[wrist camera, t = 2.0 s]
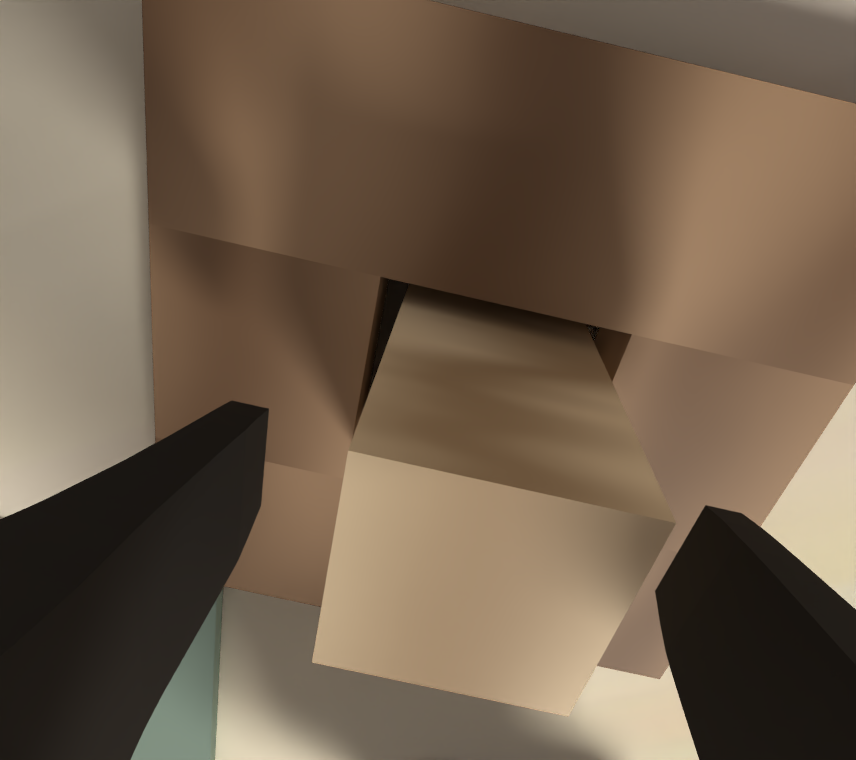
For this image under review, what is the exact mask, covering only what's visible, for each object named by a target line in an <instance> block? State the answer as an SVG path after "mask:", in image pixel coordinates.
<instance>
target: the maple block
mask: <svg viewBox="0 0 856 760" xmlns="http://www.w3.org/2000/svg"><path fill="white" fill-rule="evenodd" d="M675 525H676V521H675V519H674V517H673V515H672V512H671V510H670V508H669V506H668V504H667V501H666V499H665V497H664V495H663V493H662V490H661V488H660V486H659V484H658V482H657V479H656V477H655V475H654V473H653V471H652V468H651V466H650V464H649V462H648V460H647V457H646V455H645V453H644V451H643V449H642V447H641V444H640V442H639V440H638V438H637V436H636V433H635V431H634V429H633V427H632V425H631V422H630V420H629V418H628V416H627V414H626V411H625V409H624V407H623V405H622V403H621V400H620V398H619V396H618V394H617V392H616V389H615V387H614V385H613V383H612V381H611V378H610V376H609V374H608V372H607V370H606V368H605V365H604V363H603V361H602V359H601V357H600V354H599V352H598V350H597V348H596V346H595V343H594V341H593V339H592V337H591V335H590V332H589V330H588V328H587V326H586V324H584V323H580V322H576V321H571V320H567V319H563V318H558V317H554V316H549V315H545V314H541V313H536V312H532V311H528V310H523V309H519V308H515V307H510V306H506V305H501V304H497V303H493V302H488V301H484V300H480V299H475V298H471V297H467V296H462V295H458V294H453V293H449V292H445V291H440V290H436V289H432V288H427V287H423V286H418V285H414V284H410V283H409V286H408V288H407V291H406V294H405V297H404V299H403V302H402V305H401V308H400V310H399V313H398V316H397V318H396V321H395V324H394V327H393V329H392V332H391V335H390V338H389V340H388V343H387V346H386V348H385V351H384V354H383V357H382V359H381V362H380V365H379V368H378V370H377V373H376V376H375V379H374V381H373V384H372V387H371V389H370V392H369V395H368V398H367V400H366V403H365V406H364V409H363V411H362V414H361V417H360V420H359V422H358V425H357V428H356V430H355V433H354V436H353V439H352V441H351V444H350V447H349V450H348V454H347V460H346V466H345V472H344V478H343V483H342V489H341V495H340V501H339V507H338V513H337V518H336V524H335V530H334V536H333V542H332V548H331V553H330V559H329V565H328V571H327V577H326V583H325V588H324V594H323V600H322V606H321V612H320V618H319V623H318V629H317V635H316V641H315V647H314V653H313V658H312V663H317V664H322V665H326V666H331V667H336V668H340V669H345V670H350V671H355V672H359V673H364V674H369V675H374V676H378V677H383V678H388V679H392V680H397V681H402V682H407V683H411V684H416V685H421V686H426V687H430V688H435V689H440V690H444V691H449V692H454V693H459V694H463V695H468V696H473V697H478V698H482V699H487V700H492V701H496V702H501V703H506V704H511V705H515V706H520V707H525V708H529V709H534V710H539V711H544V712H548V713H553V714H558V715H563V716H567V717H568V716H569V714H570V713H571V711H572V709H573V707H574V705H575V704H576V702H577V700H578V698H579V697H580V695H581V693H582V691H583V689H584V688H585V686H586V684H587V682H588V680H589V679H590V677H591V675H592V673H593V671H594V670H595V668H596V666H597V664H598V663H599V661H600V659H601V657H602V655H603V654H604V652H605V650H606V648H607V646H608V645H609V643H610V641H611V639H612V637H613V636H614V634H615V632H616V630H617V629H618V627H619V625H620V623H621V621H622V620H623V618H624V616H625V614H626V612H627V611H628V609H629V607H630V605H631V603H632V602H633V600H634V598H635V596H636V595H637V593H638V591H639V589H640V587H641V586H642V584H643V582H644V580H645V578H646V577H647V575H648V573H649V571H650V569H651V568H652V566H653V564H654V562H655V561H656V559H657V557H658V555H659V553H660V552H661V550H662V548H663V546H664V544H665V543H666V541H667V539H668V537H669V535H670V534H671V532H672V530H673V528H674V527H675Z"/></svg>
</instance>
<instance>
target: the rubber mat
mask: <svg viewBox="0 0 856 760" xmlns="http://www.w3.org/2000/svg"><path fill="white" fill-rule="evenodd" d="M222 598H223V589H222V591H221V592H220V594H219V596H218V598H217V600H216V601H215V603H214V605H213V607H212V608H211V610H210V612H209V614H208V616H207V617H206V619H205V621H204V623H203V624H202V626H201V628H200V630H199V631H198V633H197V635H196V637H195V638H194V640H193V642H192V644H191V645H190V647H189V649H188V651H187V652H186V654H185V656H184V658H183V659H182V661H181V663H180V665H179V666H178V668H177V670H176V672H175V673H174V675H173V677H172V679H171V681H170V682H169V684H168V686H167V688H166V689H165V691H164V693H163V695H162V697H161V698H160V700H159V702H158V704H157V706H156V708H155V710H154V712H153V714H152V716H151V718H150V720H149V722H148V723H147V725H146V727H145V729H144V731H143V734H142V736H141V738H140V740H139V742H138V744H137V747H136V749H135V751H134V753H133V755H132V758H131V760H215V747H216V726H217V704H218V683H219V662H220V641H221V619H222Z"/></svg>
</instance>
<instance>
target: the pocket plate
mask: <svg viewBox="0 0 856 760" xmlns="http://www.w3.org/2000/svg"><path fill="white" fill-rule="evenodd" d="M142 18H143V51H144V84H145V116H146V149H147V182H148V214H149V247H150V280H151V312H152V345H153V377H154V410H155V443H157V442H159V441H160V440H162V439H164V438H166V437H168V436H169V435H171V434H173V433H175V432H176V431H178V430H180V429H182V428H183V427H185V426H187V425H189V424H190V423H192V422H194V421H196V420H197V419H199V418H201V417H203V416H204V415H206V414H208V413H210V412H211V411H213V410H215V409H217V408H218V407H220V406H222V405H224V404H226V403H228V402H229V401H231V400H232V401H237V402H241V403H246V404H250V405H255V406H259V407H264V408H269V417H268V429H267V441H266V453H265V465H264V477H263V489H262V501H261V507H260V510H259V512H258V515H257V517H256V519H255V522H254V524H253V527H252V529H251V532H250V534H249V537H248V539H247V541H246V544H245V546H244V548H243V551H242V553H241V555H240V558H239V560H238V562H237V564H236V566H235V567H234V569H233V571H232V573H231V575H230V576H229V578H228V580H227V582H226V584H225V585H224V586H225V587H230V588H235V589H239V590H244V591H249V592H253V593H258V594H263V595H268V596H272V597H277V598H282V599H286V600H291V601H296V602H300V603H305V604H310V605H314V606H319V607H321V606H322V600H323V594H324V588H325V583H326V577H327V571H328V565H329V559H330V553H331V548H332V542H333V536H334V530H335V524H336V518H337V513H338V507H339V501H340V495H341V489H342V483H343V478H344V472H345V466H346V460H347V454H348V450H349V447H350V444H351V441H352V439H353V436H354V433H355V430H356V428H357V425H358V422H359V420H360V417H361V414H362V411H363V409H364V406H365V403H366V400H367V398H368V392H369V387H370V381H371V376H372V370H373V365H374V359H375V354H376V349H377V343H378V338H379V332H380V327H381V321H382V316H383V310H384V305H385V299H386V294H387V288H388V283H389V279H392V280H397V281H401V282H405V283H410V284H414V285H418V286H423V287H427V288H432V289H436V290H440V291H445V292H449V293H453V294H458V295H462V296H467V297H471V298H475V299H480V300H484V301H488V302H493V303H497V304H501V305H506V306H510V307H515V308H519V309H523V310H528V311H532V312H536V313H541V314H545V315H549V316H554V317H558V318H563V319H567V320H571V321H576V322H580V323H584V324H589V325H593V326H597V327H600V329H599V331H598V334H597V336H596V339H595V341H594V343H595V346H596V348H597V350H598V352H599V354H600V357H601V359H602V361H603V363H604V365H605V368H606V370H607V372H608V374H609V376H610V378H611V381H612V383H613V385H614V387H615V389H616V392H617V394H618V396H619V398H620V400H621V403H622V405H623V407H624V409H625V411H626V414H627V416H628V418H629V420H630V422H631V425H632V427H633V429H634V431H635V433H636V436H637V438H638V440H639V442H640V444H641V447H642V449H643V451H644V453H645V455H646V457H647V460H648V462H649V464H650V466H651V468H652V471H653V473H654V475H655V477H656V479H657V482H658V484H659V486H660V488H661V490H662V493H663V495H664V497H665V499H666V501H667V504H668V506H669V508H670V510H671V512H672V515H673V517H674V519H675V521H676V525H675V527H674V528H673V530H672V532H671V534H670V535H669V537H668V539H667V541H666V543H665V544H664V546H663V548H662V550H661V552H660V553H659V555H658V557H657V559H656V561H655V562H654V564H653V566H652V568H651V569H650V571H649V573H648V575H647V577H646V578H645V580H644V582H643V584H642V586H641V587H640V589H639V591H638V593H637V595H636V596H635V598H634V600H633V602H632V603H631V605H630V607H629V609H628V611H627V612H626V614H625V616H624V618H623V620H622V621H621V623H620V625H619V627H618V629H617V630H616V632H615V634H614V636H613V637H612V639H611V641H610V643H609V645H608V646H607V648H606V650H605V652H604V654H603V655H602V657H601V659H600V661H599V663H598V664H597V666H600V667H605V668H610V669H615V670H619V671H624V672H629V673H633V674H638V675H643V676H647V677H652V678H657V679H660V678H661V676H662V675H663V673H664V672H665V670H666V669H667V667H668V666H669V662H668V658H667V655H666V651H665V646H664V641H663V636H662V631H661V626H660V620H659V614H658V607H657V601H656V594H655V590H656V588H657V587H658V585H659V583H660V582H661V580H662V578H663V576H664V575H665V573H666V571H667V570H668V568H669V566H670V565H671V563H672V561H673V559H674V558H675V556H676V554H677V553H678V551H679V549H680V548H681V546H682V544H683V542H684V541H685V539H686V537H687V536H688V534H689V532H690V531H691V529H692V527H693V525H694V524H695V522H696V520H697V519H698V517H699V515H700V514H701V512H702V510H703V508H704V507H705V505H707V506H712V507H716V508H721V509H726V510H730V511H735V512H739V513H742V514H744V515H745V516H746V517H748V518H749V519H750V520H752V521H753V522H755V523H756V524H757V525H758V526H761V525H762V523H763V522H764V520H765V519H766V517H767V516H768V514H769V513H770V511H771V510H772V508H773V507H774V505H775V504H776V502H777V501H778V499H779V498H780V496H781V495H782V493H783V492H784V490H785V489H786V487H787V485H788V484H789V482H790V481H791V479H792V478H793V476H794V475H795V473H796V472H797V470H798V469H799V467H800V466H801V464H802V463H803V461H804V460H805V458H806V457H807V455H808V454H809V452H810V451H811V449H812V448H813V446H814V445H815V443H816V442H817V440H818V439H819V437H820V436H821V434H822V432H823V431H824V429H825V428H826V426H827V425H828V423H829V422H830V420H831V419H832V417H833V416H834V414H835V413H836V411H837V410H838V408H839V407H840V405H841V404H842V402H843V401H844V399H845V398H846V396H847V395H848V393H849V392H850V390H851V389H852V387H853V386H854V384H855V382H856V104H855V103H851V102H847V101H843V100H839V99H835V98H831V97H826V96H822V95H818V94H814V93H810V92H806V91H802V90H798V89H793V88H789V87H785V86H781V85H777V84H773V83H769V82H765V81H760V80H756V79H752V78H748V77H744V76H740V75H736V74H732V73H727V72H723V71H719V70H715V69H711V68H707V67H703V66H699V65H694V64H690V63H686V62H682V61H678V60H674V59H670V58H666V57H661V56H657V55H653V54H649V53H645V52H641V51H637V50H633V49H628V48H624V47H620V46H616V45H612V44H608V43H604V42H600V41H595V40H591V39H587V38H583V37H579V36H575V35H571V34H567V33H562V32H558V31H554V30H550V29H546V28H542V27H538V26H534V25H529V24H525V23H521V22H517V21H513V20H509V19H505V18H501V17H496V16H492V15H488V14H484V13H480V12H476V11H472V10H467V9H463V8H459V7H455V6H451V5H447V4H443V3H439V2H434V1H430V0H142Z"/></svg>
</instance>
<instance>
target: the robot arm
mask: <svg viewBox="0 0 856 760" xmlns="http://www.w3.org/2000/svg"><path fill="white" fill-rule="evenodd" d="M268 417H269V408H264V407H259V406H255V405H250V404H246V403H241V402H237V401H232V400H231V401H229V402H228V403H226V404H224V405H222V406H220V407H218V408H217V409H215V410H213V411H211V412H210V413H208V414H206V415H204V416H203V417H201V418H199V419H197V420H196V421H194V422H192V423H190V424H189V425H187V426H185V427H183V428H182V429H180V430H178V431H176V432H175V433H173V434H171V435H169V436H168V437H166V438H164V439H162V440H160V441H159V442H157V443H155V444H153V445H151V446H149V447H148V448H146V449H144V450H142V451H140V452H139V453H137V454H135V455H133V456H131V457H129V458H128V459H126V460H124V461H122V462H120V463H118V464H116V465H114V466H112V467H110V468H108V469H106V470H104V471H102V472H100V473H98V474H96V475H94V476H92V477H90V478H88V479H86V480H84V481H82V482H80V483H78V484H76V485H74V486H72V487H70V488H68V489H66V490H64V491H62V492H60V493H58V494H56V495H54V496H52V497H50V498H48V499H45V500H43V501H41V502H39V503H37V504H34V505H32V506H30V507H28V508H26V509H23V510H21V511H19V512H16V513H14V514H12V515H9V516H7V517H5V518H3V519H0V760H131V758H132V755H133V753H134V751H135V749H136V747H137V744H138V742H139V740H140V738H141V736H142V734H143V731H144V729H145V727H146V725H147V723H148V722H149V720H150V718H151V716H152V714H153V712H154V710H155V708H156V706H157V704H158V702H159V700H160V698H161V697H162V695H163V693H164V691H165V689H166V688H167V686H168V684H169V682H170V681H171V679H172V677H173V675H174V673H175V672H176V670H177V668H178V666H179V665H180V663H181V661H182V659H183V658H184V656H185V654H186V652H187V651H188V649H189V647H190V645H191V644H192V642H193V640H194V638H195V637H196V635H197V633H198V631H199V630H200V628H201V626H202V624H203V623H204V621H205V619H206V617H207V616H208V614H209V612H210V610H211V608H212V607H213V605H214V603H215V601H216V600H217V598H218V596H219V594H220V592H221V591H222V589H223V587H224V585H225V584H226V582H227V580H228V578H229V576H230V575H231V573H232V571H233V569H234V567H235V566H236V564H237V562H238V560H239V558H240V555H241V553H242V551H243V548H244V546H245V544H246V541H247V539H248V537H249V534H250V532H251V529H252V527H253V524H254V522H255V519H256V517H257V515H258V512H259V510H260V507H261V501H262V489H263V477H264V465H265V453H266V441H267V429H268ZM655 594H656V601H657V607H658V614H659V620H660V626H661V631H662V636H663V641H664V646H665V651H666V655H667V658H668V662H669V665H670V669H671V672H672V675H673V678H674V682H675V685H676V688H677V691H678V694H679V698H680V701H681V704H682V707H683V710H684V713H685V717H686V720H687V723H688V726H689V729H690V732H691V735H692V738H693V741H694V745H695V748H696V751H697V754H698V757H699V760H856V609H855V608H853V607H852V606H851V605H850V604H849V603H848V602H847V601H845V600H844V599H843V598H842V597H841V596H840V595H839V594H837V593H836V592H835V591H834V590H833V589H832V588H831V587H829V586H828V585H827V584H826V583H825V582H824V581H823V580H822V579H820V578H819V577H818V576H817V575H816V574H815V573H814V572H812V571H811V570H810V569H809V568H808V567H807V566H806V565H804V564H803V563H802V562H801V561H800V560H799V559H798V558H796V557H795V556H794V555H793V554H792V553H791V552H790V551H788V550H787V549H786V548H785V547H784V546H783V545H781V544H780V543H779V542H778V541H777V540H776V539H774V538H773V537H772V536H771V535H770V534H768V533H767V532H766V531H765V530H763V529H762V528H761V527H760V526H758V525H757V524H756V523H755V522H753V521H752V520H750V519H749V518H748V517H746V516H745V515H744V514H742V513H739V512H735V511H730V510H726V509H721V508H716V507H712V506H707V505H705V507H704V508H703V510H702V512H701V514H700V515H699V517H698V519H697V520H696V522H695V524H694V525H693V527H692V529H691V531H690V532H689V534H688V536H687V537H686V539H685V541H684V542H683V544H682V546H681V548H680V549H679V551H678V553H677V554H676V556H675V558H674V559H673V561H672V563H671V565H670V566H669V568H668V570H667V571H666V573H665V575H664V576H663V578H662V580H661V582H660V583H659V585H658V587H657V588H656V590H655Z"/></svg>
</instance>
